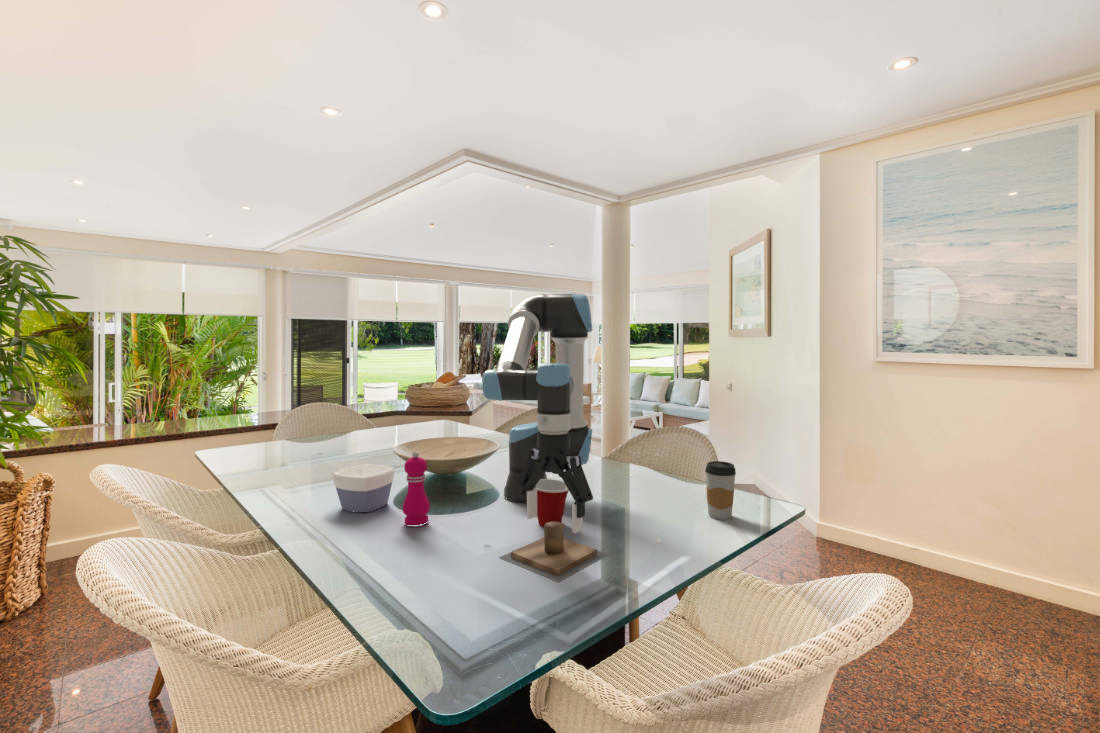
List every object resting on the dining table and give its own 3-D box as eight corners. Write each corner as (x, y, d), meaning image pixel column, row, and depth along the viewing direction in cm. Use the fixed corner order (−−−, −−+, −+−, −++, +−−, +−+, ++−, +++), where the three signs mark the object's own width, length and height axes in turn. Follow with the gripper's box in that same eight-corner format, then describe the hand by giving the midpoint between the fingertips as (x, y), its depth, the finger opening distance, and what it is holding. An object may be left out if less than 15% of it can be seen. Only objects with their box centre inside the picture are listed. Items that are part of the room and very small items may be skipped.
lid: (510, 557, 115) (510, 526, 115) (551, 539, 126) (550, 510, 126) (557, 575, 106) (557, 542, 106) (596, 554, 117) (596, 523, 116)
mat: (498, 561, 115) (498, 557, 115) (550, 538, 129) (550, 534, 129) (558, 587, 103) (558, 582, 103) (608, 558, 117) (608, 554, 117)
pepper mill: (435, 521, 142) (434, 450, 140) (418, 529, 135) (417, 455, 134) (414, 517, 145) (413, 447, 143) (397, 525, 138) (395, 453, 137)
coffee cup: (734, 513, 147) (735, 462, 147) (735, 522, 140) (736, 469, 139) (705, 509, 150) (705, 459, 149) (703, 519, 142) (704, 466, 142)
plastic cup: (567, 536, 130) (567, 490, 130) (526, 533, 132) (526, 488, 132) (573, 521, 141) (573, 478, 140) (535, 518, 143) (535, 477, 142)
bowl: (326, 511, 150) (325, 474, 149) (363, 496, 164) (362, 462, 163) (367, 518, 144) (366, 479, 143) (402, 502, 158) (401, 467, 158)
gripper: (503, 427, 120) (504, 516, 121) (588, 440, 104) (587, 542, 104) (525, 424, 126) (525, 508, 126) (608, 435, 109) (608, 532, 110)
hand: (553, 524), depth 115 cm, fingers open, 13 cm apart
